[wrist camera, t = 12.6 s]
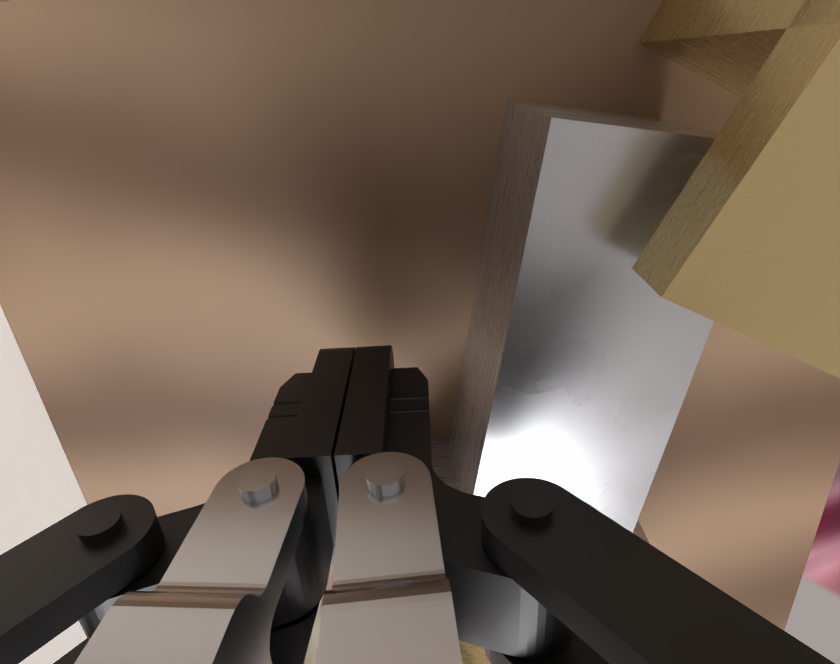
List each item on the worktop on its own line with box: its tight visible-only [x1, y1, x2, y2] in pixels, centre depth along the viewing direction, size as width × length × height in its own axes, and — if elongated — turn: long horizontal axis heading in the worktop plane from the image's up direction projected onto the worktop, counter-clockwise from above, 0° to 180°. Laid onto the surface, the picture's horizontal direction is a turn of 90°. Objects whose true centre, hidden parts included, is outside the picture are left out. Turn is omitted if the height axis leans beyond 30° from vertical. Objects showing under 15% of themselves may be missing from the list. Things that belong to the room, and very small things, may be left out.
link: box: [431, 100, 719, 544], centre depth 12 cm, size 13×5×4 cm, turn 173°
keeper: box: [632, 0, 840, 378], centre depth 8 cm, size 5×4×6 cm
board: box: [0, 0, 840, 664], centre depth 15 cm, size 20×20×1 cm
